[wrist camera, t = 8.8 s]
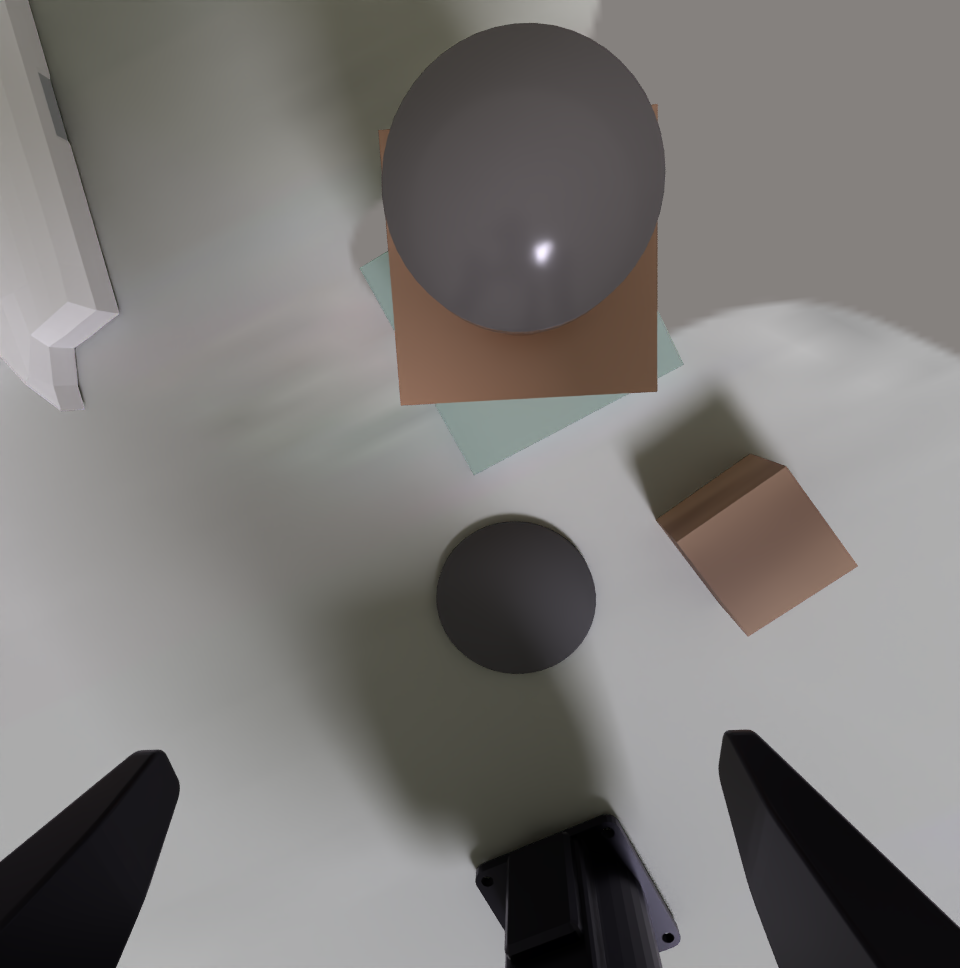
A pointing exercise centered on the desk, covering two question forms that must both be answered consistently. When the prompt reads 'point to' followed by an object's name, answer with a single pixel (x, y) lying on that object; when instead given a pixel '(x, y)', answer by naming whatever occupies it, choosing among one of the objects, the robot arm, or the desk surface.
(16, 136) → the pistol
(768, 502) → the walnut block
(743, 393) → the desk surface
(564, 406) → the mat
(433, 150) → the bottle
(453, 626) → the dark grey puck
